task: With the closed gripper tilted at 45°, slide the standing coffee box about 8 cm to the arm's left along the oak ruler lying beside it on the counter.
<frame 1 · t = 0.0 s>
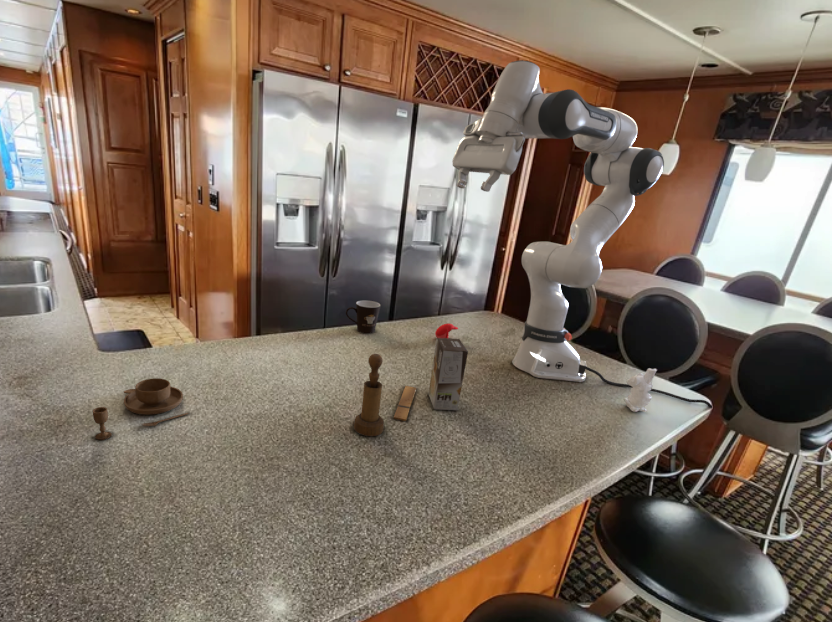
hand: (471, 189, 112), 52 cm above the kitchen counter, tool tilted 20°, fingers open, 8 cm apart
cap: (445, 340, 164), on the kitchen counter
coffee box: (442, 402, 118), on the kitchen counter
mortar and pestle: (368, 429, 102), on the kitchen counter
coffee mug: (361, 330, 165), on the kitchen counter
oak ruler: (405, 403, 116), on the kitchen counter
place setting: (136, 410, 100), on the kitchen counter
white animal figurine: (634, 409, 126), on the kitchen counter
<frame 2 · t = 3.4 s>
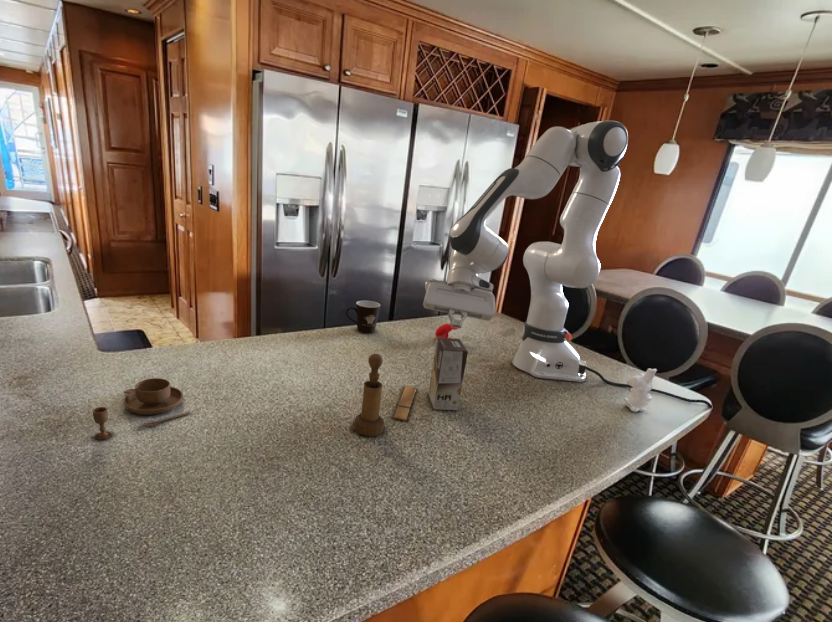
hand: (456, 326, 127), 16 cm above the kitchen counter, tool tilted 45°, fingers closed
nothing on the kitchen counter moved.
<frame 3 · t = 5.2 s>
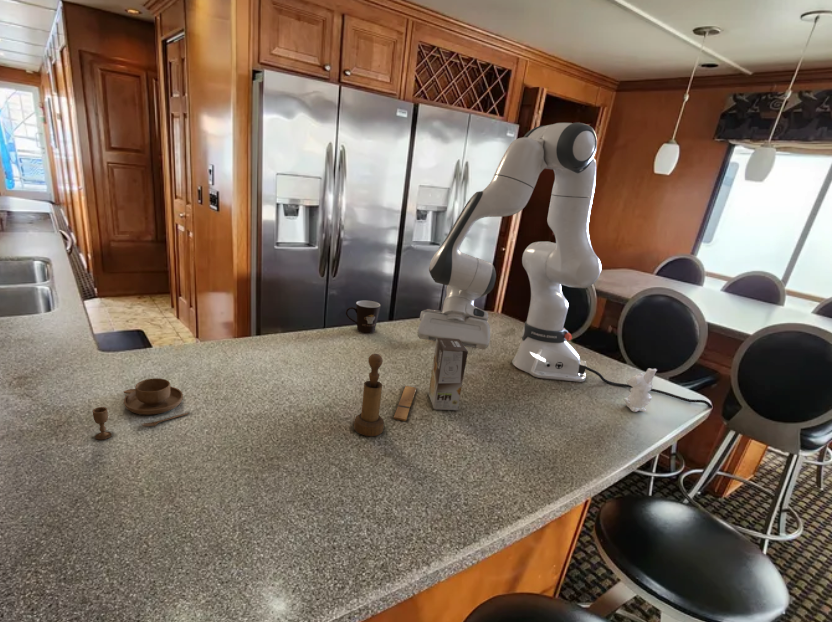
hand: (449, 356, 126), 8 cm above the kitchen counter, tool tilted 45°, fingers closed
nothing on the kitchen counter moved.
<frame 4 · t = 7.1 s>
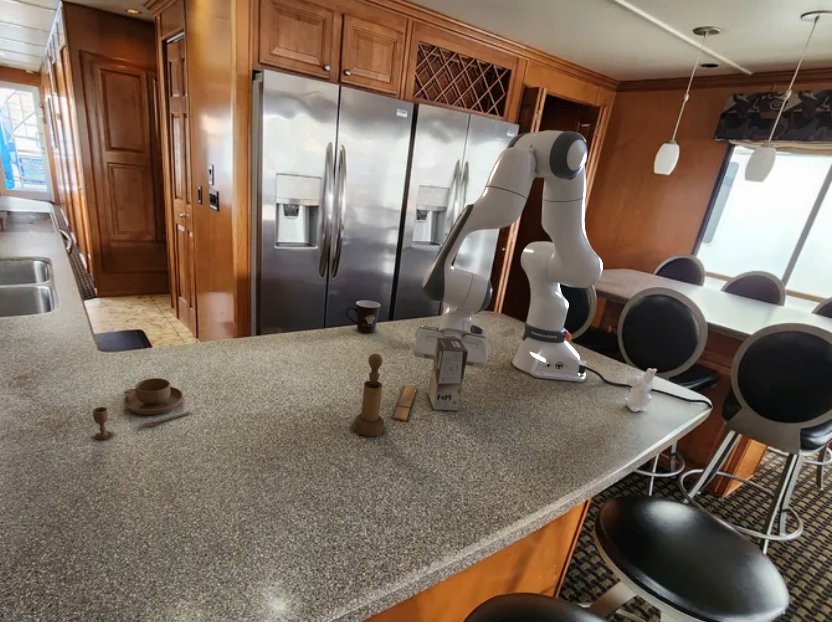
hand: (445, 376, 122), 5 cm above the kitchen counter, tool tilted 45°, fingers closed
coffee box: (442, 402, 118), on the kitchen counter, touching gripper
everything else where it was.
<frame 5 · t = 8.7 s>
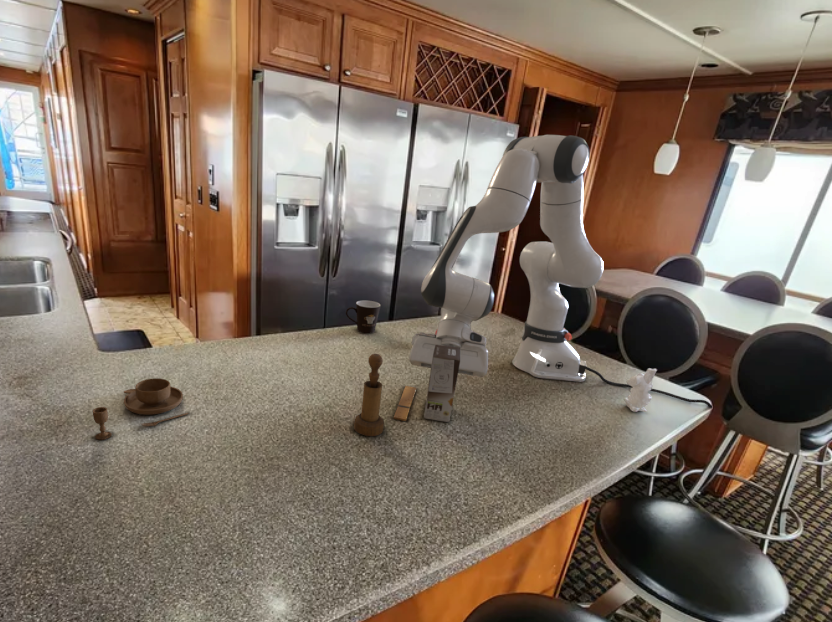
hand: (443, 385, 116), 5 cm above the kitchen counter, tool tilted 45°, fingers closed, pressing on coffee box
coffee box: (437, 412, 113), on the kitchen counter, touching gripper
everything else where it was.
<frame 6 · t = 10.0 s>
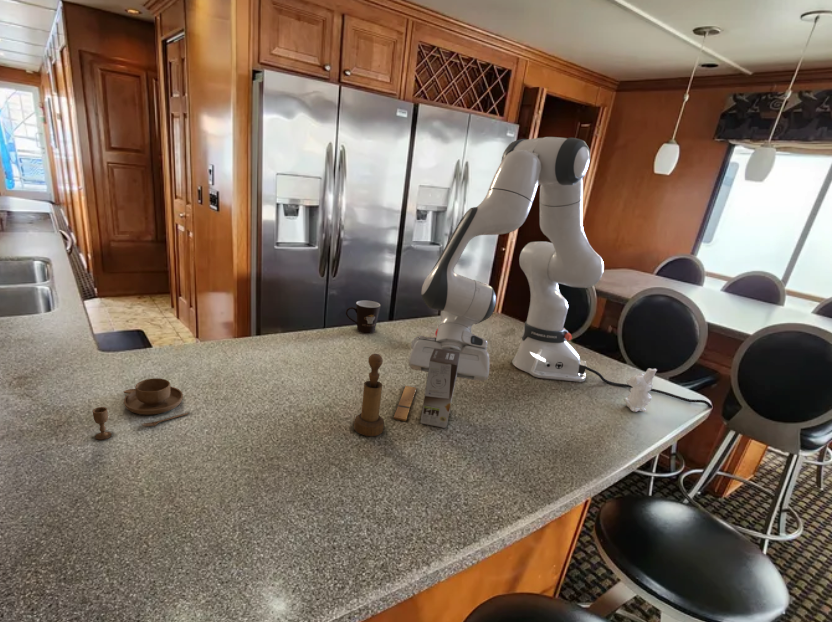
hand: (444, 390, 113), 5 cm above the kitchen counter, tool tilted 45°, fingers closed
coffee box: (435, 417, 111), on the kitchen counter
everything else where it was.
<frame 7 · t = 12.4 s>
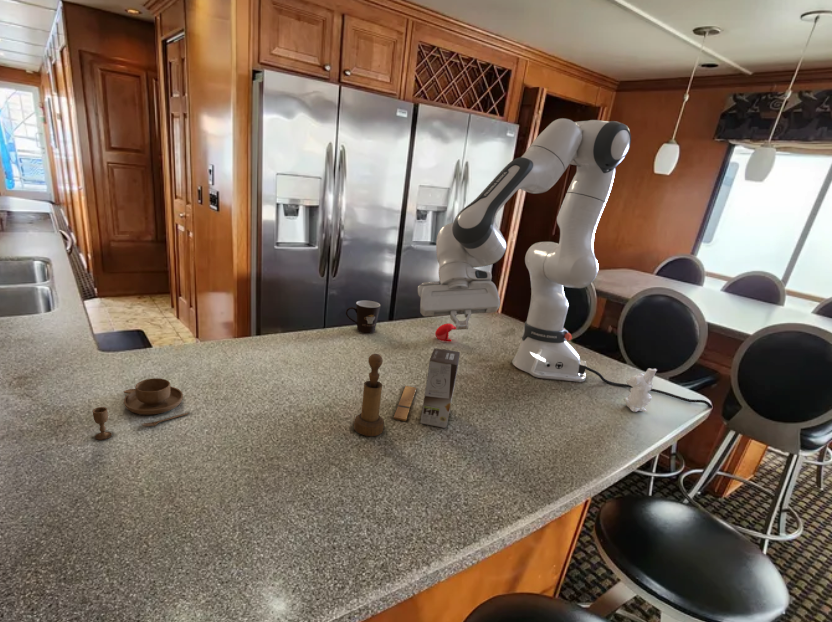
hand: (462, 328, 115), 19 cm above the kitchen counter, tool tilted 45°, fingers closed
nothing on the kitchen counter moved.
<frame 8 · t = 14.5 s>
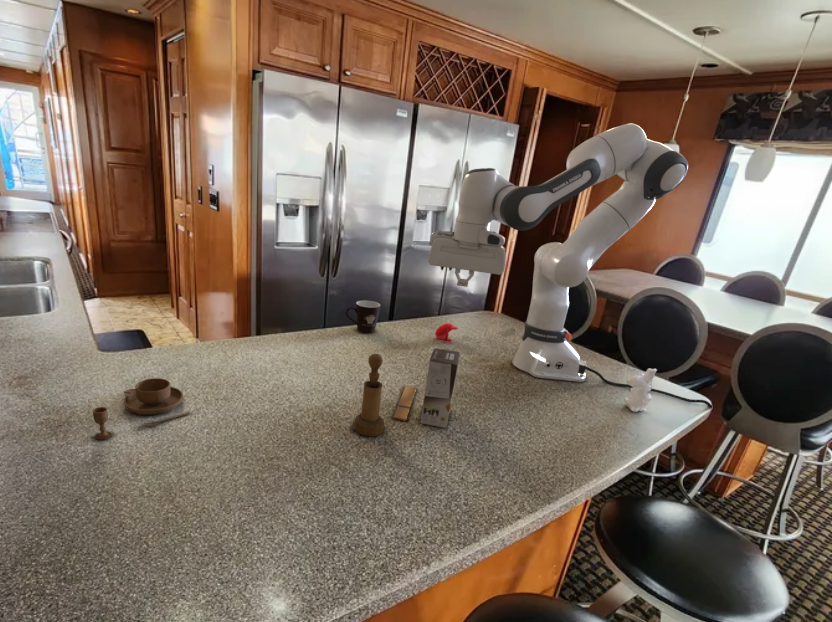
hand: (462, 285, 124), 27 cm above the kitchen counter, tool pointing down, fingers closed
nothing on the kitchen counter moved.
at the end: coffee box inside the target area (1.1 cm from its centre), on the kitchen counter; coffee box tilted 0°; coffee box moved 8.9 cm from its start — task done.
